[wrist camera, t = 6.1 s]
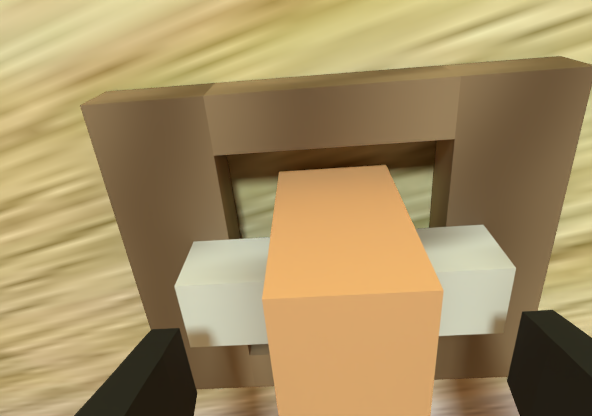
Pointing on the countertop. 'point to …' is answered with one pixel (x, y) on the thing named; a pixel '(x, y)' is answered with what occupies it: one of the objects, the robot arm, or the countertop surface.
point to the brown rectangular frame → (341, 133)
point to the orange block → (349, 297)
